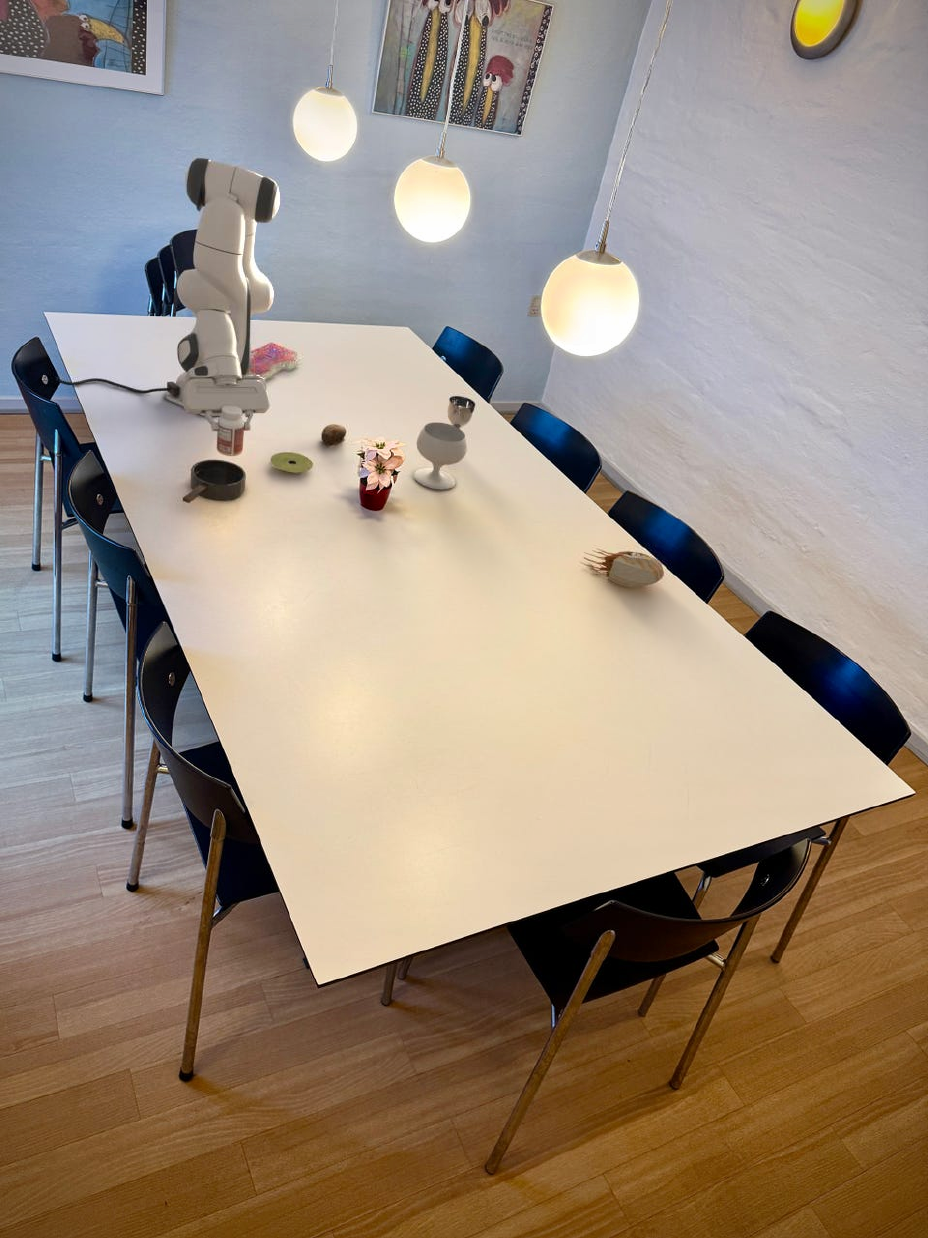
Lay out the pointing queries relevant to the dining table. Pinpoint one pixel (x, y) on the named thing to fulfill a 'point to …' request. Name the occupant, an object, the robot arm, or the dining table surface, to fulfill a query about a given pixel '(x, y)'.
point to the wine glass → (460, 410)
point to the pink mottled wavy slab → (279, 352)
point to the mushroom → (333, 434)
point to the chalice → (439, 453)
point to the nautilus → (630, 568)
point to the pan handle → (195, 493)
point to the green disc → (291, 462)
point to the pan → (219, 479)
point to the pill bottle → (230, 431)
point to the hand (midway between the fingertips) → (231, 430)
